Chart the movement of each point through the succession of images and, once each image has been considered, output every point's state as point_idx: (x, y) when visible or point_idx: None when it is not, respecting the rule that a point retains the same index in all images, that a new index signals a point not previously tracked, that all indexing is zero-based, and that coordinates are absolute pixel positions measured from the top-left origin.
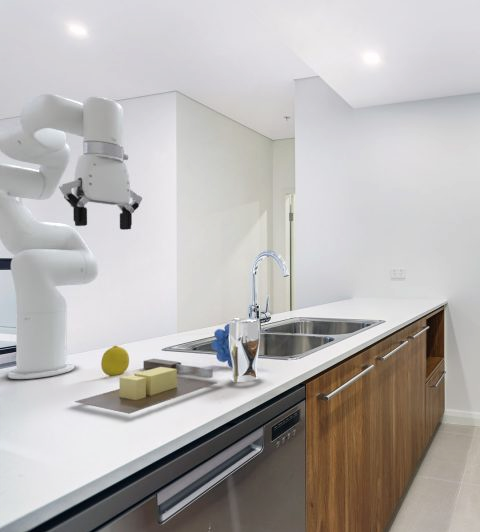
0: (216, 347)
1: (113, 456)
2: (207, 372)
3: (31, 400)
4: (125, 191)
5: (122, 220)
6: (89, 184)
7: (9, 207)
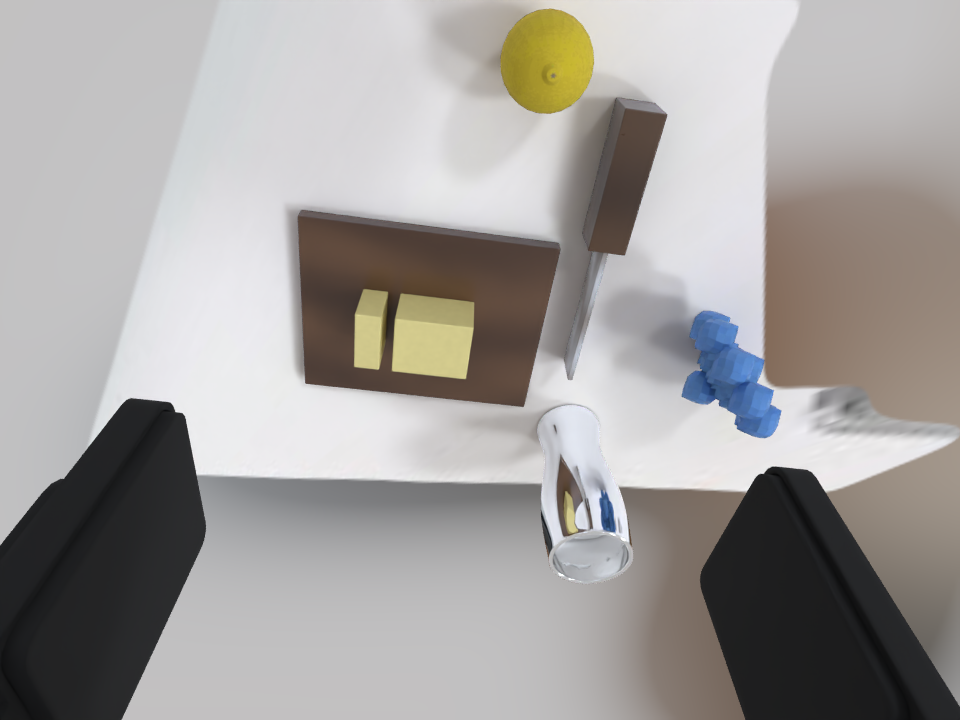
0: (695, 344)
1: (213, 452)
2: (569, 361)
3: (281, 17)
4: None
5: (784, 622)
6: None
7: None
